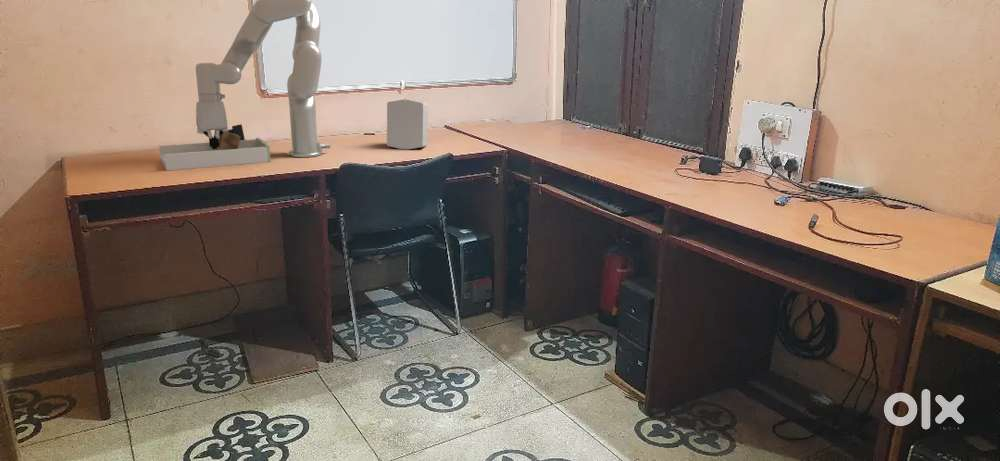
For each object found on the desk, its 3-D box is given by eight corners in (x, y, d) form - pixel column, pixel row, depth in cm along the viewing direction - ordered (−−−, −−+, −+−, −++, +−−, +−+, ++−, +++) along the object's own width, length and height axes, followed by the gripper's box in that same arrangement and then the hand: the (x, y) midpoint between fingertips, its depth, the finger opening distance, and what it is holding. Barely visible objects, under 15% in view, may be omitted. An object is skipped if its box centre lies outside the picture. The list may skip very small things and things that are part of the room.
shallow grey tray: (259, 153, 279) (258, 137, 277) (270, 161, 264) (269, 145, 262) (161, 160, 262) (159, 144, 260) (166, 170, 247) (164, 153, 245)
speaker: (251, 150, 283) (246, 123, 280) (238, 152, 279) (232, 126, 276) (240, 149, 288) (235, 123, 285) (227, 152, 284) (222, 125, 281)
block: (232, 149, 271) (237, 134, 271) (236, 152, 266) (240, 136, 266) (216, 145, 268) (220, 130, 267) (219, 148, 263) (224, 132, 262)
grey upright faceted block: (429, 148, 305) (430, 100, 302) (422, 150, 290) (423, 99, 287) (395, 147, 306) (395, 99, 303) (386, 149, 291) (387, 98, 288)
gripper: (229, 96, 266) (233, 145, 272) (185, 97, 259) (191, 148, 264) (233, 98, 260) (237, 148, 265) (188, 100, 253) (194, 151, 258)
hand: (214, 148), depth 265 cm, fingers closed
